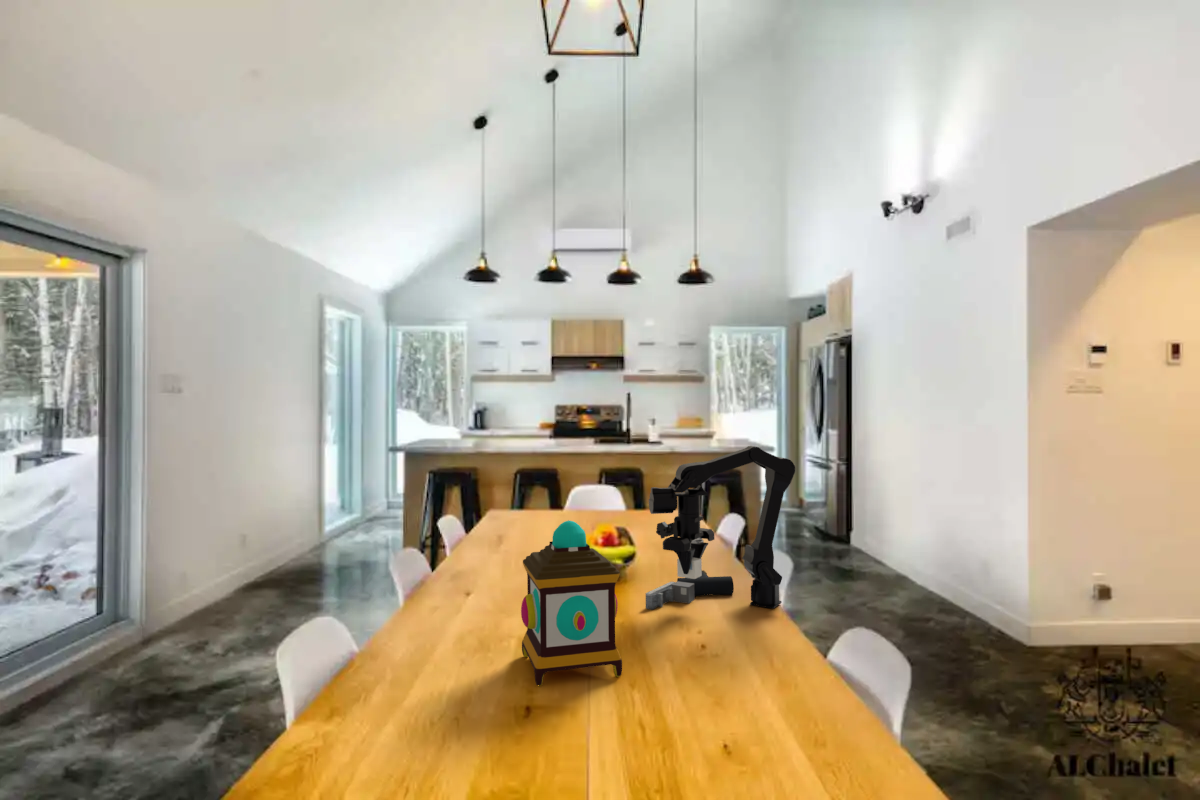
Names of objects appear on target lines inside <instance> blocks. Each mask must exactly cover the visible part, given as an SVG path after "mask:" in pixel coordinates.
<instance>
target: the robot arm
mask: <svg viewBox="0 0 1200 800" xmlns="http://www.w3.org/2000/svg"><path fill="white" fill-rule="evenodd" d="M751 463H753V464H755V465H758V466H759V467H761V468H763V469H764V480H765V487H766V489H765V494H764V497H763V498H764V499H763V502H762V507H761V512H760V517H759V520H758V526H757V530H756V533H755V534H756V535H755V538H754V540H753V542H752V543H751V545H750V544H745V547H744V554H743V556H742V557H741V558H742V560H743V566H744V567H745V569H746V570H747V572H749V573H750V575H751V578H752V579H753V580H752V584H751V586H750V600H751V601H750V602H749V605H750V606H754V607H756V606H757V607H762V608H767V609H775V608H777V607H778V606H779V605H781V604H782V600H780V585H781V583H782V580H783V575H781V574H780V573H779V572H778V571H777V570H776V569H775V568H774V563H775V561H774V560H775V556H774V548H773V543H774V538H775V534H776V530H777V525H778V521H779V518H780V517H779V516H780V512H781V508H782V502H783V498H784V494H785V492H786V490H787V489H788V488H789V487H790V485H791V484H792V480H793V478H794V476H795V473H796V466H795V464H794V462H793V461H792V460H791V459H789V458H786V457H782V456H781V457H780V456H776V455H774V454H771V453H770V452H767V451H765V450H763V449H761V447H758V446H755V445H749V446H746V447H745V448H742V449H739V450H737V451H734V452H733V451H732V452H731V453H727V454H724V455H722V456H719V457H715V458H713V459H710V460H706V461H697V462H690V463H682V464H681V465H679V466H678V467H677V468H676V471H675V476H674V478H673V479H672V481H671V482H670V483H669V485H668V486H667V487H655V486H654V487H651V488H650V493H649V498H648V509H649V513H650V515H654V514H655V515H656V514H660V515H661V514H674V511H676V510H677V515H676V516H675V517H674V518H673V522H671V523H668V524H667V522H666V521H663V522H659V523H657V524H656V530H655V532H656V534H657V535H658V536H660V539H661V540H662V539H664V540H663V541H662V550H663V551H671V552H674V553H675V554H676V555H677V557H678V558H677V559H679V561H680V564H681V567H682V570H683V573H684V574H688V572H689V569H690V566H691V562H692V558H701V559H702V557H703V554H704V553H705V550H706V549H707V547H708V545H709V542H713V541H715V531H714V530H712V528H704V527H701V521H703V520H704V515H701V499H700V498H701V496H703V497H704V496H708V492H707V491H706V490H705V489H704V488H703V486H701V485H702V484H704V483H706V482H707V481H708V480H710V479H711V478H712V477H714V476H717V475H719V474H723V473H725V472H727V471H731V470H734V469H737V468H739V467H743V466H746V465H748V464H751ZM704 539H705V540H707V541H708V542H704V541H705V540H704Z"/></svg>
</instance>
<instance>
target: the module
mask: <svg viewBox="0 0 1200 800" xmlns="http://www.w3.org/2000/svg"><path fill="white" fill-rule="evenodd" d="M702 560H703V559H702V557H701V558H692V562H691V566H690V569H689V572H688V574H684V573H683V570H682V567H681V564H680V561H679V558H677V560H676V561H677V564H676V565H677V568H676V569H677V570H676V571H677V577H678V578H691V579H696V578H698V577H700V576H702V570H703V569H702V566H703V565H702V563H703V562H702Z"/></svg>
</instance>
